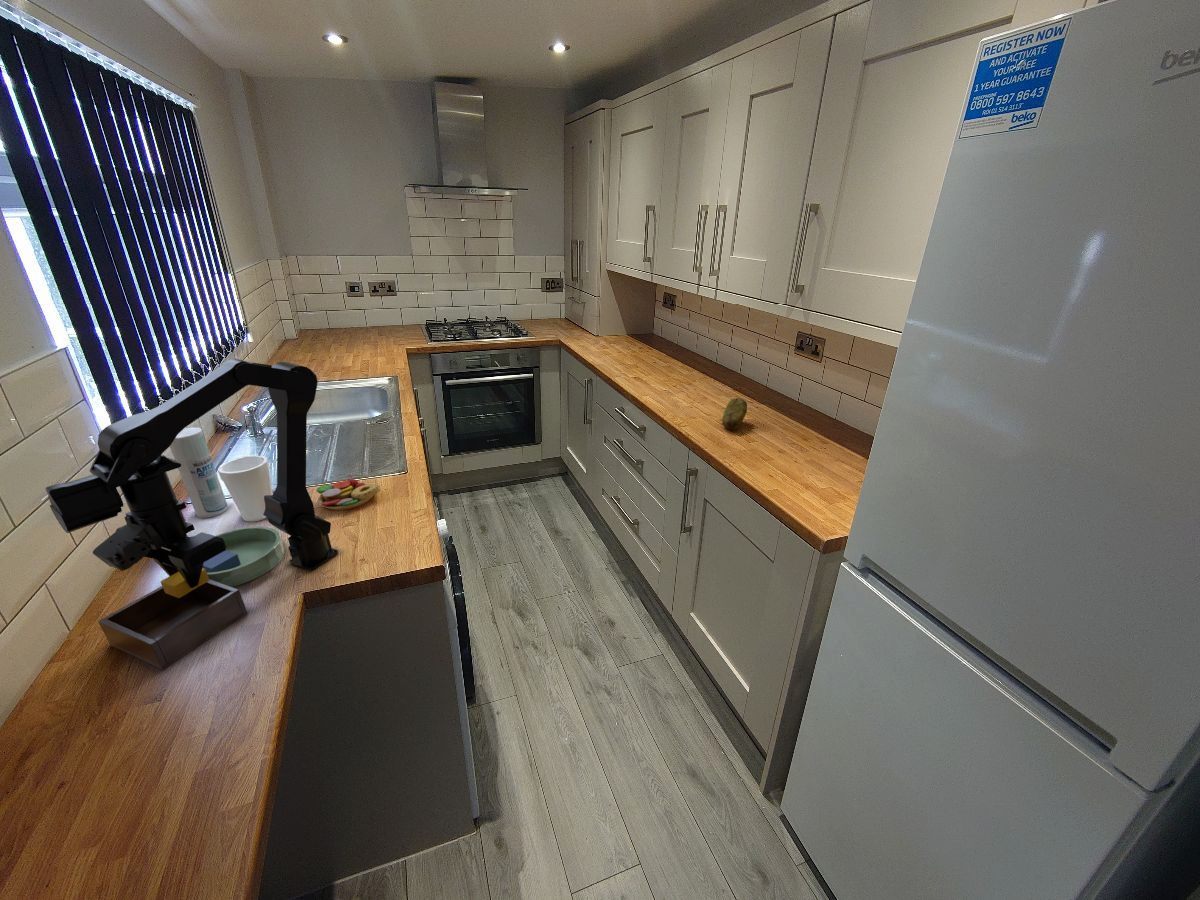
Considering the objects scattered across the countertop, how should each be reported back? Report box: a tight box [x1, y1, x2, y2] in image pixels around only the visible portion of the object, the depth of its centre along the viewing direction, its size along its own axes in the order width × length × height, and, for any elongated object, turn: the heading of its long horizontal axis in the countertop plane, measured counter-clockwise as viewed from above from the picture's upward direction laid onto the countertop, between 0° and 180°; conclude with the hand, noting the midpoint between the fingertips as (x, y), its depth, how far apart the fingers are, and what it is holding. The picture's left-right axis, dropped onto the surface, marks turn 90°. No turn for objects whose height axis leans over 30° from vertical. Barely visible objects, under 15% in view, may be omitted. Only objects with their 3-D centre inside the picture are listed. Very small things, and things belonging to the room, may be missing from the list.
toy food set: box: [316, 478, 381, 511], centre depth 127 cm, size 13×13×3 cm
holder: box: [97, 579, 248, 671], centre depth 87 cm, size 14×14×5 cm
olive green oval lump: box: [721, 397, 748, 431], centre depth 168 cm, size 8×13×8 cm, turn 139°
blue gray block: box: [202, 550, 241, 573], centre depth 101 cm, size 5×4×2 cm
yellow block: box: [160, 568, 209, 598], centre depth 87 cm, size 5×4×2 cm
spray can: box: [169, 427, 228, 519], centre depth 120 cm, size 6×6×20 cm
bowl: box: [207, 526, 285, 588], centre depth 104 cm, size 16×16×4 cm
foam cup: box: [217, 454, 274, 522], centre depth 119 cm, size 10×9×13 cm
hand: (186, 583), depth 87 cm, fingers closed on yellow block, 3 cm apart
